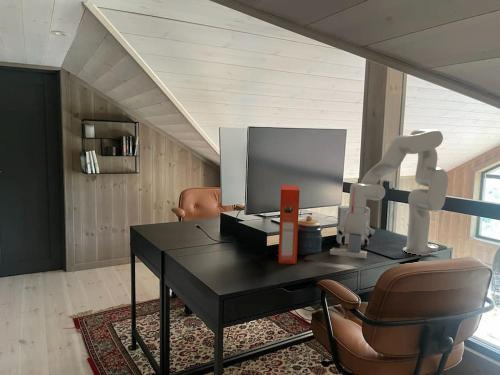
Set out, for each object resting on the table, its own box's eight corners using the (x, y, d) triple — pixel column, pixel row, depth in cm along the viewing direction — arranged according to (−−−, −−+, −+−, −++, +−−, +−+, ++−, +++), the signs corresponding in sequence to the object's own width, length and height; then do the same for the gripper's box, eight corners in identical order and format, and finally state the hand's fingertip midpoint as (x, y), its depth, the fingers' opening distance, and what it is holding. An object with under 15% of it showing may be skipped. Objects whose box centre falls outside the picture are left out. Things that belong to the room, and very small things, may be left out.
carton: (360, 251, 187) (361, 232, 186) (359, 255, 180) (360, 236, 179) (348, 250, 188) (349, 231, 187) (347, 253, 182) (348, 234, 181)
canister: (320, 257, 180) (322, 219, 178) (292, 254, 183) (293, 217, 181) (321, 249, 192) (323, 214, 190) (295, 247, 195) (297, 212, 193)
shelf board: (366, 254, 187) (367, 247, 186) (365, 261, 176) (366, 254, 175) (332, 250, 192) (333, 243, 191) (329, 257, 180) (330, 249, 180)
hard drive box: (365, 244, 207) (368, 206, 204) (368, 248, 199) (371, 209, 197) (335, 242, 208) (338, 205, 206) (337, 246, 200) (339, 207, 198)
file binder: (277, 263, 169) (281, 189, 166) (277, 251, 186) (280, 184, 183) (296, 264, 169) (300, 190, 165) (295, 252, 186) (298, 185, 182)
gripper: (376, 210, 183) (373, 246, 185) (338, 207, 188) (336, 241, 190) (376, 213, 175) (373, 250, 177) (337, 209, 181) (334, 245, 183)
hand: (354, 246), depth 184 cm, fingers open, 9 cm apart
